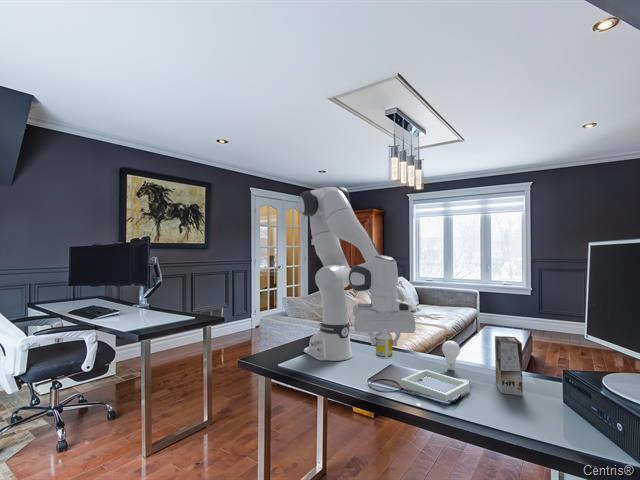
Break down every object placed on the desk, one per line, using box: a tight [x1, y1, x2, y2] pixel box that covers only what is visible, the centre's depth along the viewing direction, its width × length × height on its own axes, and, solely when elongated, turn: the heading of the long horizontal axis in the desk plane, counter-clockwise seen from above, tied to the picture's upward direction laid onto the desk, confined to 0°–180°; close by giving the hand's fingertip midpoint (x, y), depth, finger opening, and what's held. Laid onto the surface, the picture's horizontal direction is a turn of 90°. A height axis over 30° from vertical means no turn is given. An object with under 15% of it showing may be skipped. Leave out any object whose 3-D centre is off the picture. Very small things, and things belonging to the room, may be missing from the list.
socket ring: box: [367, 382, 396, 393], centre depth 114 cm, size 11×11×1 cm
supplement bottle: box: [375, 329, 393, 360], centre depth 115 cm, size 5×5×10 cm
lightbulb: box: [441, 340, 461, 372], centre depth 128 cm, size 6×6×11 cm
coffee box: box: [494, 335, 524, 396], centre depth 111 cm, size 9×6×16 cm
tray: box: [400, 368, 471, 402], centre depth 110 cm, size 16×14×3 cm
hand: (384, 345), depth 115 cm, fingers closed on supplement bottle, 5 cm apart
